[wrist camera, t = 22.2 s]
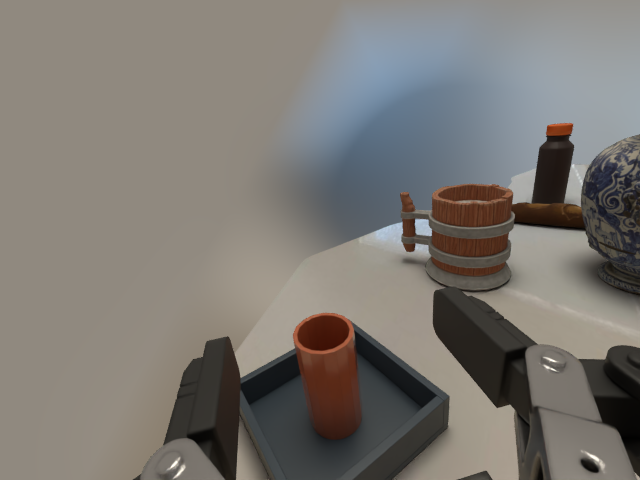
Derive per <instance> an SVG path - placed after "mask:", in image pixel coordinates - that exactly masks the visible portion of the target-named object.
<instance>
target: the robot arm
mask: <svg viewBox="0 0 640 480" xmlns="http://www.w3.org/2000/svg"><path fill="white" fill-rule="evenodd" d="M433 327H434V330H435V332H436V335H437V336H438V338H439V339H440V340H441V341H442V343H443V344H444V345H445V346H446V347H447V349H448V350H449V351H450V352H451V353H452V355H453V356H454V357H455V358H456V359H457V361H458V362H459V363H460V364H461V365H462V367H463V368H464V369H465V370H466V371H467V373H468V374H469V375H470V376H471V377H472V379H473V380H474V381H475V382H476V383H477V385H478V386H479V387H480V388H481V389H482V391H483V392H484V393H485V394H486V395H487V397H488V398H489V399H490V400H491V401H492V403H493V404H494V405H495V406H496V407H497V408H499V407H503V406H506V405H509V404H510V405H511V406H512V407H513V408H514V409H515V413H514V422H515V434H516V445H517V457H518V469H519V480H637V478H636V475H635V473H636V474H637V475H638V476H639V477H640V348H637V347H632V346H624V345H621V346H614V347H612V348H610V349H609V350H608V353H607V356H606V359H605V360H597V359H577V358H576V357H575V356H573V355H572V354H570V353H569V352H567V351H565V350H563V349H560V348H558V347H555V346H550V345H541V344H540V345H538V344H537V343H535V342H534V341H533V340H532V339H530V338H529V337H528V336H527V335H525V334H524V333H523V332H522V331H520V330H519V329H518V328H517V327H515V326H514V325H513V324H512V323H510V322H509V321H508V320H507V319H504V317H503V316H502V315H500V314H499V313H498V312H495V310H494V309H493V308H492V307H490V306H489V305H488V304H487V303H485V302H484V301H482V300H479V299H477V298H475V297H473V296H467V295H465V294H464V293H463V292H462V291H461V290H459V289H458V288H457V287H455V286H453V287H448V288H444V289H439V290H436V291H435V292H434V298H433ZM240 390H241V380H240V372H239V368H238V364H237V361H236V358H235V354H234V351H233V348H232V344H231V341H230V339H229V337H223V338H219V339H215V340H210V341H207V342H206V345H205V350H204V354H203V357H201V358H197V359H193V360H192V362H191V363H190V364H189V366H188V367H187V368H186V370H185V371H184V373H183V376H182V380H181V384H180V388H179V391H178V394H177V399H176V402H175V405H174V409H173V412H172V416H171V419H170V423H169V427H168V430H167V434H166V437H165V441H164V444H163V446H162V447H161V448H159V449H158V450H157V451H156V452H155V453H154V454H153V456H151V457H150V459H149V461H148V462H147V463H146V465H145V466H144V469H143V471H142V474H140V475H139V476H138V477H136V478H135V479H133V480H236V467H237V448H238V429H239V409H240ZM634 472H635V473H634ZM458 480H492V478H491V477H490V475H489V474H488V472H487V471H483V472H480V473H477V474H474V475H471V476H468V477H465V478H461V479H458Z"/></svg>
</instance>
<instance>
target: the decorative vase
mask: <svg viewBox="0 0 640 480" xmlns="http://www.w3.org/2000/svg"><path fill="white" fill-rule="evenodd" d="M581 210H582V216H583V221H584V224H585V228H586V235H587V236H588V243H589V246H590V247H591V248H592V249H594V250H596V251H598V253H599V254H600V255H601V256H603V257H604V258H606V259H607V260H608V261H607V262H605V263H603V264H602V265H601V266H600V267H599V269H598V274H599V276H600V278H601V279H602V280H603V281H605V282H606V283H608V284H610V285H612V286H614V287H616V288H619V289H621V290H624V291H627V292H631V293H635V294H639V295H640V135H636V136H632V137H629V138H626V139H623V140H621V141H619V142H617V143H615V144H613V145H611V146H610V147H608V148H606V149H605V150H603V151H602V152H601V153H600V154H599V155H598V156H597V157H596V158H595V159H594V160H593V161H592V163H591V164H590V166H589V168H588V170H587V172H586V175H585V178H584V182H583V186H582V193H581Z"/></svg>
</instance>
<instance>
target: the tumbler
mask: <svg viewBox="0 0 640 480" xmlns="http://www.w3.org/2000/svg"><path fill="white" fill-rule="evenodd" d="M293 339H294V345H295V350H296V354H297V359H298V364H299V369H300V374H301V379H302V383H303V388H304V393H305V398H306V403H307V408H308V412H309V417H310V421H311V425H312V427H313V428H314V430H315V431H316V432H317V433H318V434H319V435H321V436H322V437H324V438H327V439H331V440H339V439H343V438H346V437H348V436H350V435H351V434H353V433H354V432H355V431H356V430H357V429H358V427H359V426H360V423H361V421H362V399H361V390H360V381H359V372H358V362H357V353H356V344H355V335H354V328H353V326H352V323H351V322H350V321H349V320H348V319H347V318H345V317H344V316H342V315H338V314H335V313H321V314H316V315H312V316H310V317H308V318H306V319H304V320H303V321H302V322H301V323H300V324H299V325H298V326H296V328H295V331H294V333H293Z"/></svg>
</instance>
